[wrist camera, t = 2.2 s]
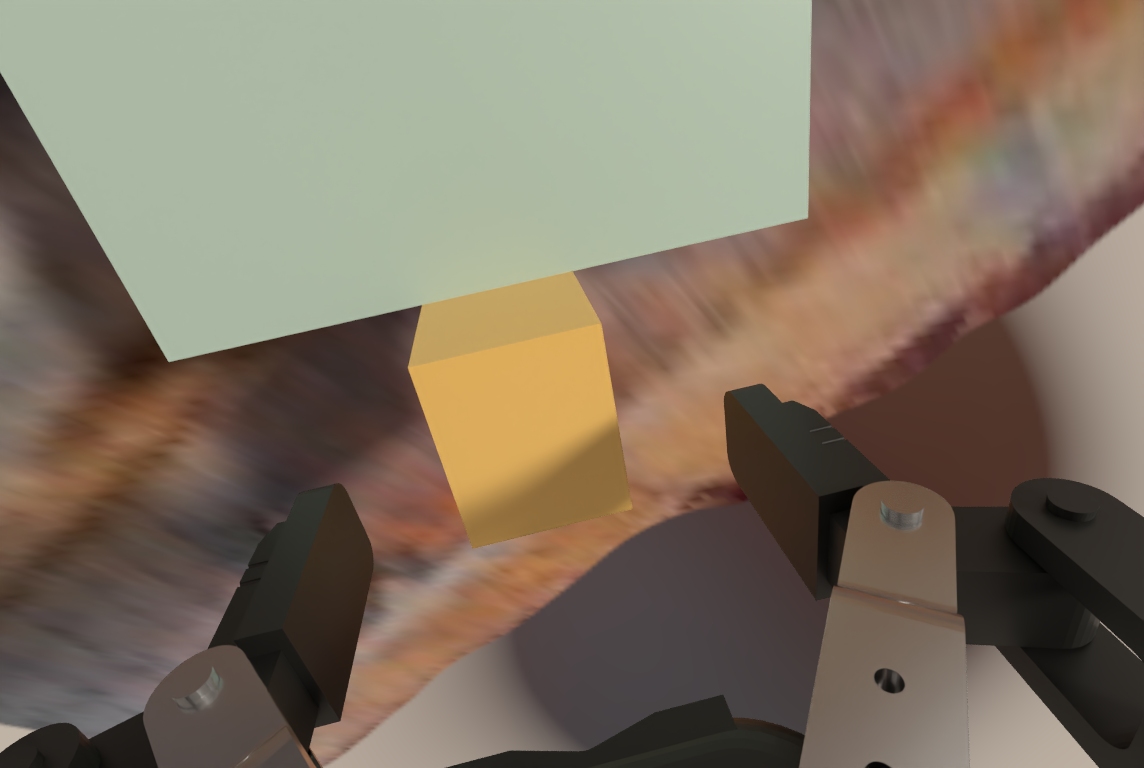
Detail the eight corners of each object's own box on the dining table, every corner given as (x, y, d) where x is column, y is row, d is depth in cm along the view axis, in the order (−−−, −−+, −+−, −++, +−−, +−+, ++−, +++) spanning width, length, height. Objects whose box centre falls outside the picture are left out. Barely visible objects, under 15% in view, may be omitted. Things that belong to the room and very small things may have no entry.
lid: (275, 471, 19) (202, 616, 14) (-157, -336, 10) (-796, -768, 5) (774, 353, 20) (882, 446, 14) (765, -482, 11) (1019, -972, 6)
